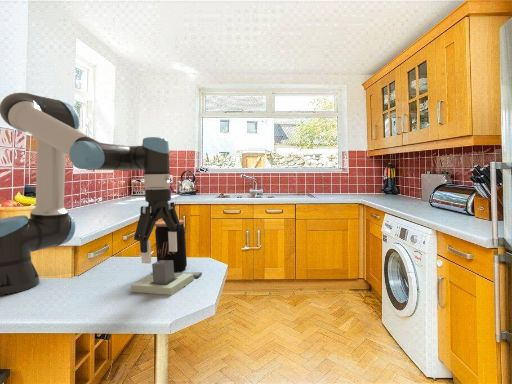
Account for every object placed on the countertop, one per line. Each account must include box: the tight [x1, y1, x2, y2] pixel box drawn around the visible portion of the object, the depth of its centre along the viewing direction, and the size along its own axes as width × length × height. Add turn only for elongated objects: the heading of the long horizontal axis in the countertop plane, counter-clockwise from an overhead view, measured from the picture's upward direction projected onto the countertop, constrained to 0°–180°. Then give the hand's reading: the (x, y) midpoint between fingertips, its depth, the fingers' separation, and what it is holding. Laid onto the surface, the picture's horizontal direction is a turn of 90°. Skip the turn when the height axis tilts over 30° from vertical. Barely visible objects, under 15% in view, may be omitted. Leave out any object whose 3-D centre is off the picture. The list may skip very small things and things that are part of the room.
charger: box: [151, 260, 174, 285], centre depth 92 cm, size 4×4×8 cm
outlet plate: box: [130, 272, 195, 296], centre depth 94 cm, size 14×13×2 cm
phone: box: [181, 271, 203, 279], centre depth 102 cm, size 7×4×1 cm, turn 82°
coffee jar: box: [154, 219, 188, 273], centre depth 110 cm, size 11×11×18 cm
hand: (160, 256), depth 92 cm, fingers open, 13 cm apart
